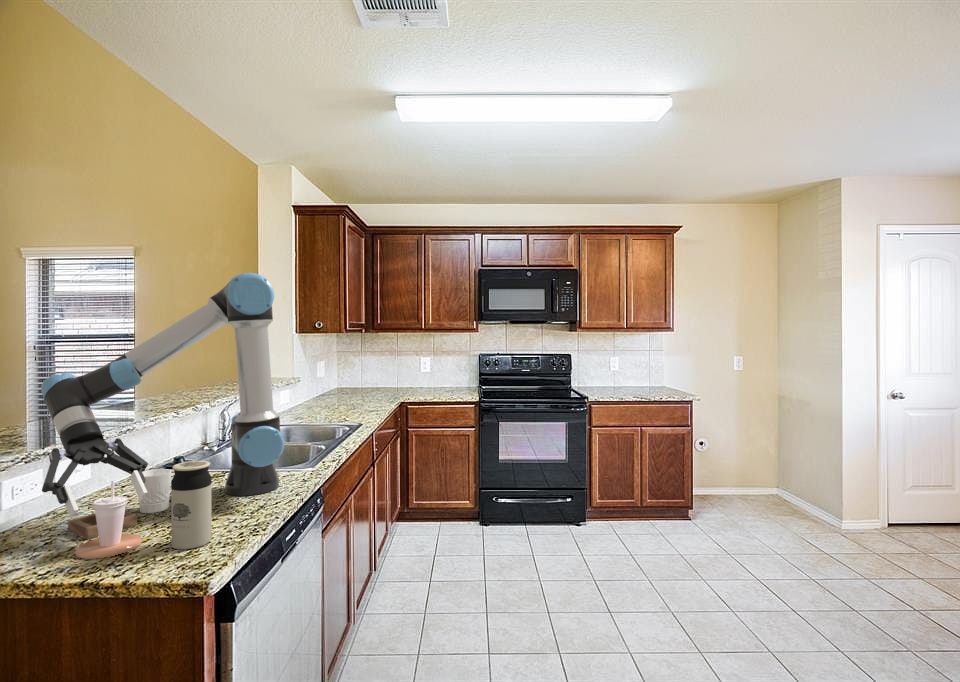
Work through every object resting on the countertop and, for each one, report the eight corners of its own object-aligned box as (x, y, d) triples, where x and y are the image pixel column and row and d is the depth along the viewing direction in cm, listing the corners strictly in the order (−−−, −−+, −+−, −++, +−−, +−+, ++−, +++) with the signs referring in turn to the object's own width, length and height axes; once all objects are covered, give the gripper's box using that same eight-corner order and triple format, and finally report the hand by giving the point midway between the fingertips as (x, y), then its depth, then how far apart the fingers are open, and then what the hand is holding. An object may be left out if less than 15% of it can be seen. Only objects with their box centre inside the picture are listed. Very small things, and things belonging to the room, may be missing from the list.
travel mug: (194, 534, 123) (194, 459, 123) (219, 539, 120) (219, 462, 120) (163, 547, 116) (162, 466, 116) (189, 552, 113) (188, 470, 113)
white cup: (177, 507, 142) (177, 471, 142) (146, 516, 135) (146, 478, 135) (161, 502, 146) (161, 467, 146) (131, 511, 139) (130, 474, 139)
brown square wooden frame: (116, 517, 134) (116, 508, 134) (137, 525, 129) (136, 515, 129) (68, 530, 125) (68, 520, 125) (88, 539, 120) (88, 528, 120)
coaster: (151, 535, 122) (151, 532, 122) (125, 557, 110) (125, 553, 110) (95, 538, 120) (95, 535, 120) (62, 561, 108) (62, 557, 108)
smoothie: (109, 550, 112) (109, 485, 112) (84, 548, 113) (85, 483, 113) (134, 539, 118) (134, 477, 118) (111, 537, 119) (111, 476, 119)
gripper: (130, 431, 134) (162, 499, 127) (5, 450, 113) (35, 532, 105) (141, 412, 131) (174, 480, 124) (15, 428, 110) (46, 511, 102)
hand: (111, 504), depth 115 cm, fingers open, 13 cm apart
